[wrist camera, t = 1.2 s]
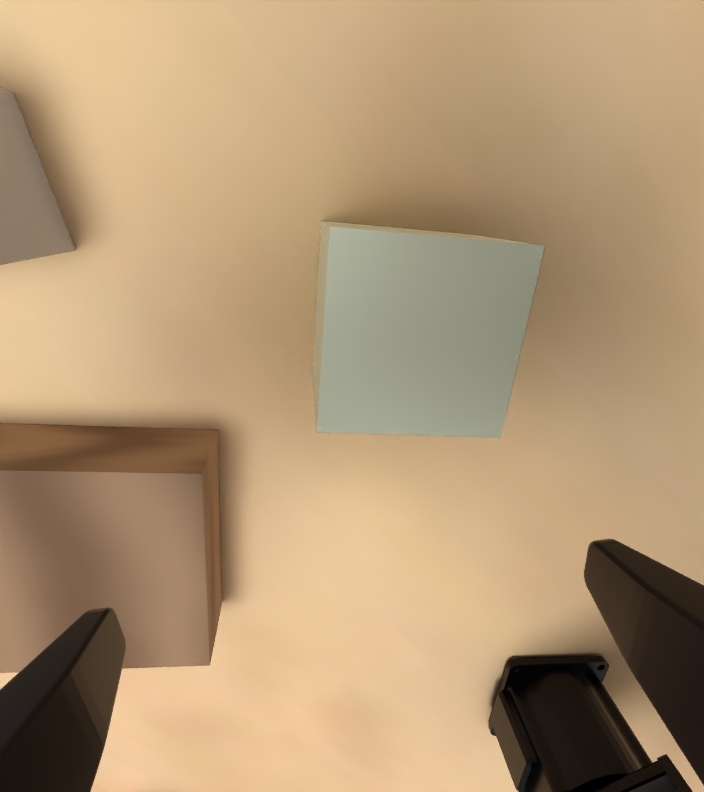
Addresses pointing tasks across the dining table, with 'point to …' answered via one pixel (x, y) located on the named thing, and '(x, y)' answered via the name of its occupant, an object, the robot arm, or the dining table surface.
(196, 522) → the walnut block
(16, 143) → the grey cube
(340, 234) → the sage cube
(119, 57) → the dining table surface
